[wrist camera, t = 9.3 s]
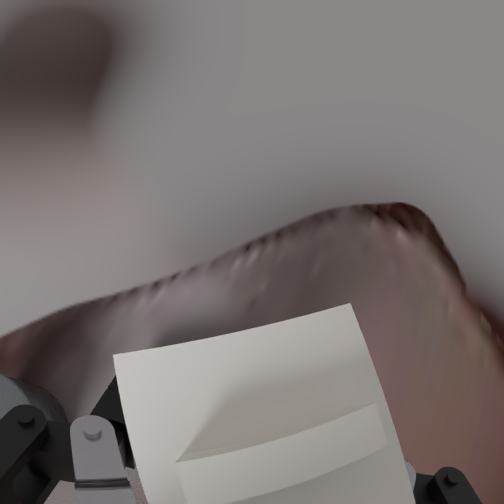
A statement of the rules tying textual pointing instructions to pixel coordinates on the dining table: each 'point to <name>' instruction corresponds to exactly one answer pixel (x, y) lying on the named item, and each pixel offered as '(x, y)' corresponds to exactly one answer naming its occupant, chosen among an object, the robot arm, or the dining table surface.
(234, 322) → the dining table surface
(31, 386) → the tin
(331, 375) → the carton
